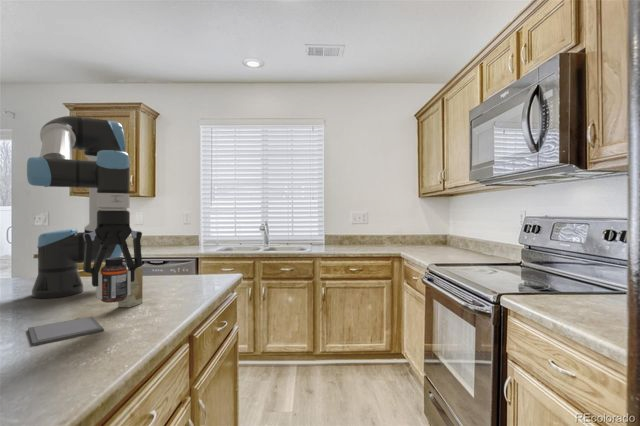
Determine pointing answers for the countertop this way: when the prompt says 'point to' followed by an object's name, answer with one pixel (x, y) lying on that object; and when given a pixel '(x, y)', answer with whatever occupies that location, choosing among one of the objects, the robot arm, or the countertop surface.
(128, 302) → the skincare box
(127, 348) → the countertop surface
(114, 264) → the supplement bottle
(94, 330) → the coaster
